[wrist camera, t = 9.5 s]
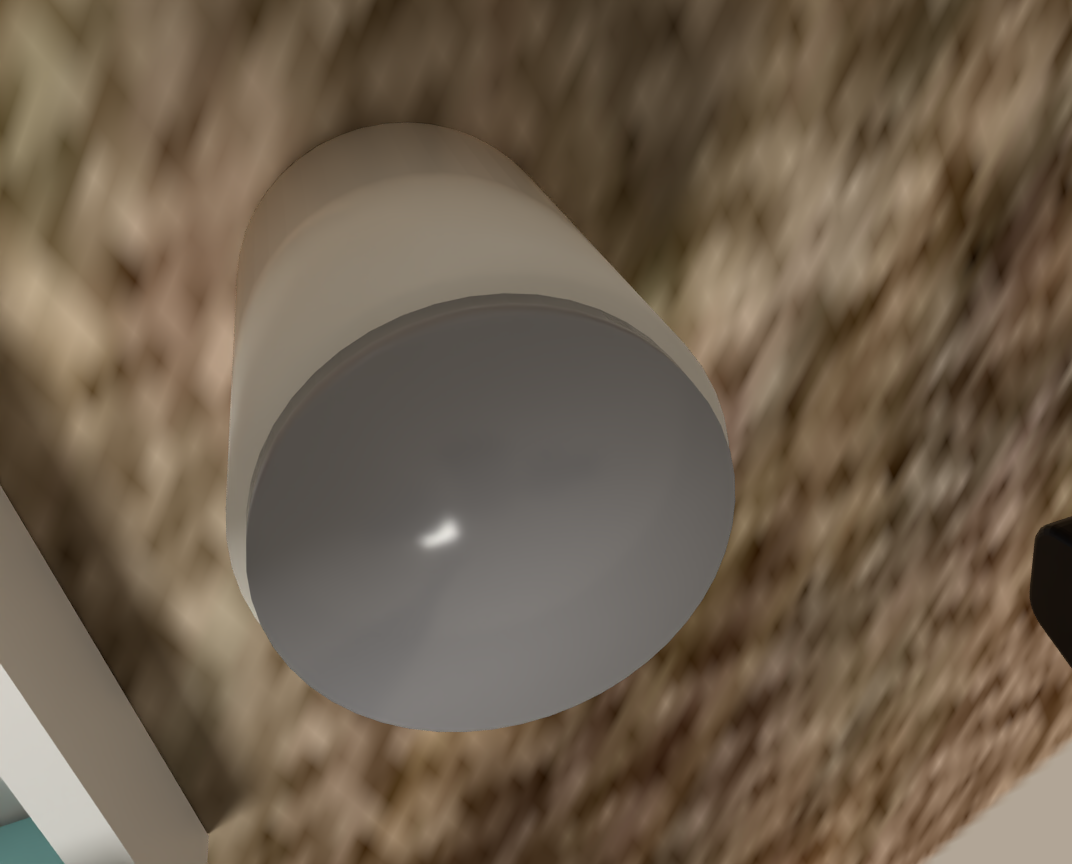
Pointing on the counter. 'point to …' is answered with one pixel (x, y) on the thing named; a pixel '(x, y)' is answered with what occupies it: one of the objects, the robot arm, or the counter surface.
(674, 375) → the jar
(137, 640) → the counter surface
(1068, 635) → the robot arm
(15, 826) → the pusher
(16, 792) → the lane
